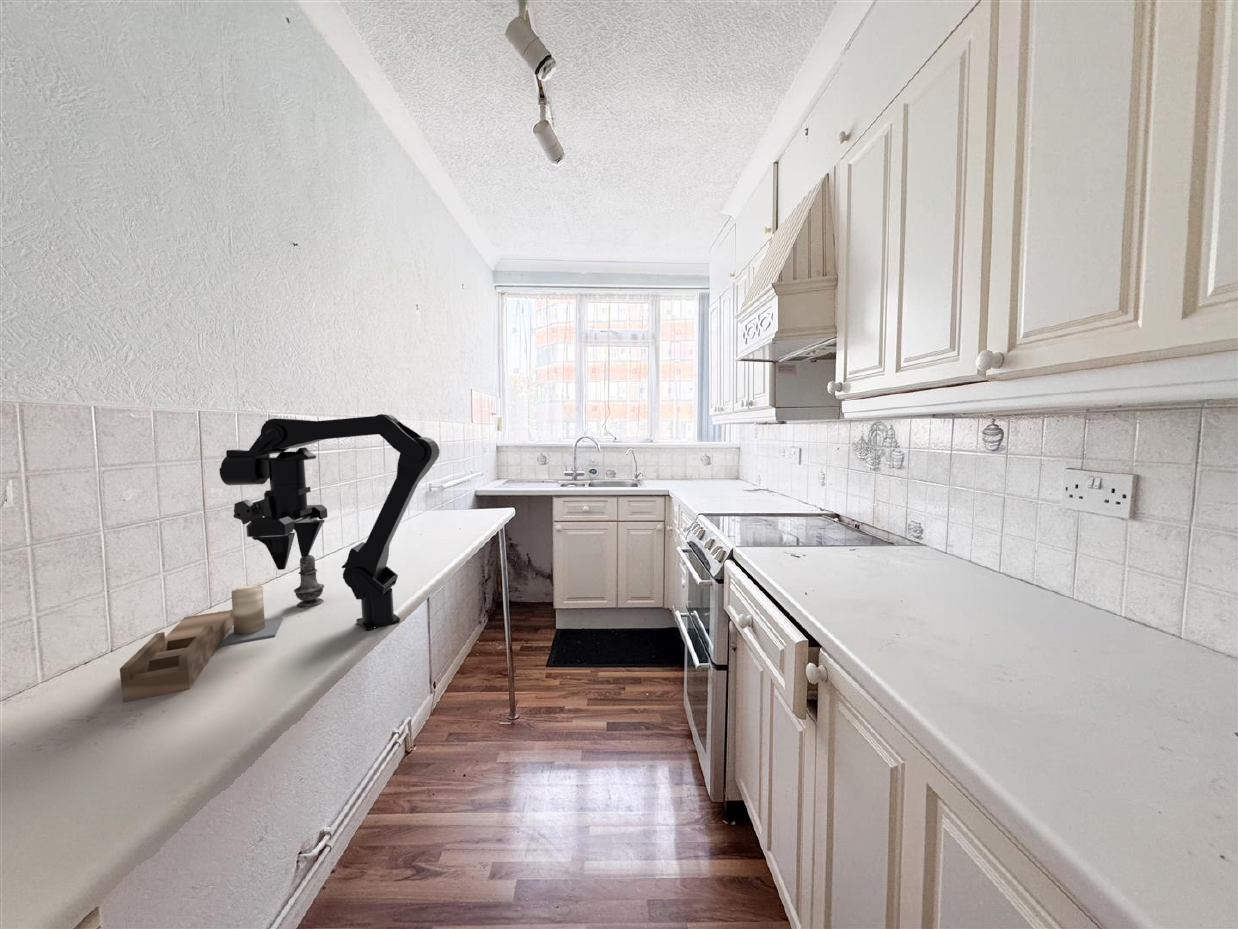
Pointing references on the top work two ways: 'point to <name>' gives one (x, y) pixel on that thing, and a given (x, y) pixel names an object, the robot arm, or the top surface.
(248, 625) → the birch cylinder
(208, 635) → the wooden track
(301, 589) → the salt shaker
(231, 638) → the mat
